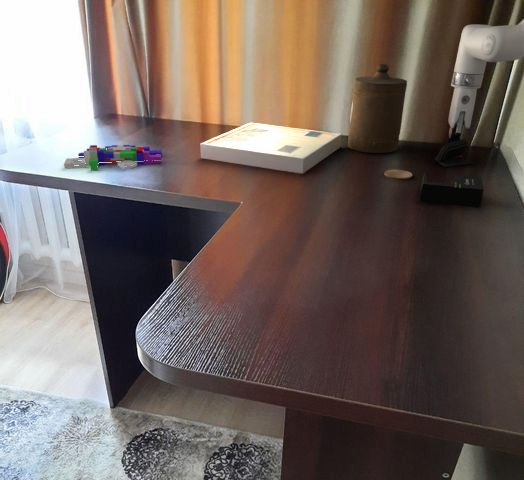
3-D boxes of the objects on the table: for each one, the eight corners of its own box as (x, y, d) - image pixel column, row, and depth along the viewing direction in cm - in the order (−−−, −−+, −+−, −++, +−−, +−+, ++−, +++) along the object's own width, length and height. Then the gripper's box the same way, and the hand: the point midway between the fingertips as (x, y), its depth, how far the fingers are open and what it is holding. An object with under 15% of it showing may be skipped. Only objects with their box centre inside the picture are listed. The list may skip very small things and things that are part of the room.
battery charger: (477, 194, 119) (481, 176, 116) (479, 207, 111) (484, 189, 109) (420, 188, 122) (423, 171, 119) (419, 201, 114) (422, 183, 112)
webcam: (457, 158, 144) (462, 137, 140) (472, 164, 139) (478, 142, 136) (431, 161, 141) (435, 140, 137) (446, 167, 136) (451, 145, 133)
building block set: (161, 147, 149) (159, 131, 146) (162, 168, 132) (160, 150, 130) (73, 150, 145) (69, 134, 142) (63, 171, 129) (59, 153, 126)
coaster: (411, 172, 132) (411, 170, 132) (412, 180, 127) (413, 178, 127) (384, 170, 133) (384, 168, 133) (384, 178, 128) (384, 176, 128)
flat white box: (250, 122, 161) (341, 133, 150) (250, 135, 163) (340, 147, 152) (200, 143, 138) (303, 158, 128) (200, 158, 140) (302, 173, 130)
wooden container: (373, 138, 161) (383, 59, 148) (407, 149, 151) (422, 65, 138) (337, 144, 154) (345, 62, 142) (371, 156, 144) (382, 68, 131)
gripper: (486, 85, 126) (467, 161, 137) (477, 77, 138) (461, 147, 149) (455, 84, 127) (439, 159, 138) (449, 75, 139) (435, 145, 150)
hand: (450, 152), depth 144 cm, fingers closed
